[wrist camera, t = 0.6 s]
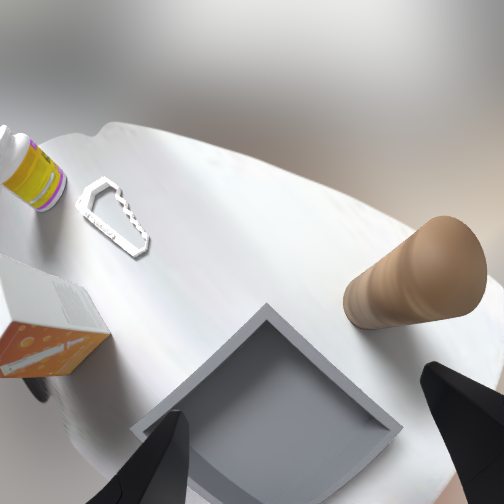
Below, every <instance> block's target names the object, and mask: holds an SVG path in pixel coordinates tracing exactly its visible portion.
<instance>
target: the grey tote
mask: <svg viewBox="0 0 504 504" xmlns="http://www.w3.org/2000/svg"><path fill="white" fill-rule="evenodd" d="M170 410H181V411H182V412H183V413H184V415H185V417H186V419H187V421H188V423H189V471H188V480H187V485H188V486H189V487H190V488H191V489H193V490H194V491H195V492H196V493H198V494H199V495H200V496H202V497H203V498H204V499H206V500H207V501H208V502H210V503H211V504H320V503H321V502H322V501H324V500H325V499H327V498H328V497H329V496H331V495H332V494H333V493H335V492H336V491H337V490H338V489H340V488H341V487H342V486H343V485H345V484H346V483H347V482H348V481H349V480H351V479H352V478H353V477H354V476H355V475H357V474H358V473H359V472H360V471H361V470H362V469H363V468H364V467H365V466H367V465H368V464H369V463H370V462H371V461H372V460H373V459H374V458H375V457H376V456H377V455H378V454H379V453H380V452H381V451H382V450H383V449H384V448H385V447H386V446H387V445H388V444H389V443H390V442H391V441H392V440H393V439H394V438H395V437H396V435H397V434H398V433H399V432H400V431H401V430H402V429H403V428H404V427H403V426H401V425H400V424H399V423H398V422H397V421H396V420H394V419H393V418H392V417H391V416H390V415H389V414H388V413H386V412H385V411H384V410H383V409H382V408H381V407H380V406H378V405H377V404H376V403H375V402H374V401H373V400H372V399H370V398H369V397H368V396H367V395H366V394H365V393H364V392H363V391H361V390H360V389H359V388H358V387H357V386H356V385H355V384H354V383H352V382H351V381H350V380H349V379H348V378H347V377H346V376H345V375H344V374H343V373H341V372H340V371H339V370H338V369H337V368H336V367H335V366H334V365H333V364H332V363H330V362H329V361H328V360H327V359H326V358H325V357H324V356H323V355H322V354H321V353H320V352H318V351H317V350H316V349H315V348H314V347H313V346H312V345H311V344H310V343H309V342H308V341H307V340H306V339H304V338H303V337H302V336H301V335H300V334H299V333H298V332H297V331H296V330H295V329H294V328H293V327H292V326H291V325H290V324H289V323H287V322H286V321H285V320H284V319H283V318H282V317H281V316H280V315H279V314H278V313H277V312H276V311H275V310H274V309H273V308H272V307H271V306H270V305H269V304H268V303H266V304H265V305H264V306H263V307H262V308H261V309H260V310H259V311H258V312H257V313H256V314H255V315H254V316H253V317H252V318H251V319H250V320H249V321H248V322H247V323H246V324H244V325H243V326H242V327H241V328H240V329H239V330H238V331H237V332H236V333H235V334H234V335H233V336H232V337H231V338H230V339H229V340H228V341H227V342H226V343H225V344H224V345H223V346H222V347H221V348H220V349H219V350H218V351H216V352H215V353H214V354H213V355H212V356H211V357H210V358H209V359H208V360H207V361H206V362H205V363H204V364H203V365H202V366H200V367H199V368H198V369H197V370H196V371H195V372H194V373H193V374H192V375H191V376H190V377H189V378H187V379H186V380H185V381H184V382H183V383H182V384H181V385H180V386H179V387H177V388H176V389H175V390H174V391H173V392H172V393H171V394H170V395H168V396H167V397H166V398H165V399H164V400H163V401H162V402H161V403H159V404H158V405H157V406H156V407H155V408H154V409H152V410H151V411H150V412H149V413H148V414H147V415H145V416H144V417H143V418H142V419H141V420H140V421H138V422H137V423H136V424H135V425H134V426H132V427H131V428H130V430H131V431H132V432H133V433H134V435H135V436H136V437H137V438H138V439H139V440H140V441H141V442H142V443H143V442H144V441H145V440H146V439H147V437H148V436H149V435H150V434H151V433H152V431H153V430H154V429H155V428H156V427H157V425H158V424H159V423H160V422H161V420H162V419H163V418H164V417H165V416H166V414H167V413H168V412H169V411H170Z"/></svg>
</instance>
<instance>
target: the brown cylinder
mask: <svg viewBox="0 0 504 504" xmlns="http://www.w3.org/2000/svg"><path fill="white" fill-rule="evenodd" d="M486 283H487V265H486V259H485V256H484V252H483V250H482V247H481V245H480V243H479V241H478V239H477V237H476V236H475V234H474V233H473V232H472V231H471V229H470V228H469V227H468V226H467V225H465V224H464V223H463V222H461V221H459V220H458V219H456V218H453V217H450V216H439V217H435V218H433V219H431V220H430V221H428V222H427V223H426V224H425V225H423V227H421V228H420V229H419V230H417V231H416V232H415V233H414V234H413V235H411V236H410V237H409V238H408V239H406V240H405V241H404V242H403V243H401V244H400V245H399V246H398V247H396V248H395V249H394V250H393V251H391V252H390V253H389V254H387V255H386V256H385V257H383V258H382V259H381V260H379V261H378V262H377V263H376V264H374V265H373V266H371V267H370V268H369V269H367V270H366V271H365V272H363V273H362V274H361V275H359V276H358V277H356V278H355V279H354V280H353V281H351V283H350V284H349V285H348V286H347V288H346V290H345V293H344V297H343V306H344V311H345V314H346V316H347V317H348V319H349V320H350V321H351V322H352V323H353V324H354V325H355V326H357V327H359V328H362V329H379V328H388V327H396V326H404V325H411V324H418V323H425V322H431V321H438V320H444V319H449V318H455V317H460V316H464V315H466V314H468V313H470V312H471V311H473V310H474V309H475V308H476V307H477V306H478V304H479V303H480V301H481V299H482V297H483V295H484V292H485V288H486Z"/></svg>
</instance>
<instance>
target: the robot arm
mask: <svg viewBox="0 0 504 504" xmlns="http://www.w3.org/2000/svg"><path fill="white" fill-rule="evenodd" d="M420 384H421V386H422V389H423V392H424V395H425V397H426V400H427V403H428V406H429V409H430V411H431V414H432V416H433V418H434V420H435V423H436V425H437V427H438V429H439V431H440V433H441V436H442V438H443V440H444V442H445V445H446V447H447V449H448V452H449V454H450V456H451V459H452V461H453V464H454V466H455V469H456V471H457V474H458V476H459V479H460V482H461V484H462V486H463V490H464V493H465V496H466V499H467V502H468V504H504V395H503V394H500V393H498V392H496V391H494V390H492V389H490V388H488V387H486V386H484V385H482V384H480V383H478V382H476V381H474V380H472V379H470V378H468V377H466V376H464V375H462V374H460V373H458V372H456V371H454V370H452V369H450V368H448V367H446V366H444V365H442V364H440V363H438V362H436V361H432V362H430V363H427V364H426V365H425V366H424V369H423V372H422V375H421V378H420ZM188 471H189V423H188V421H187V419H186V417H185V415H184V413H183V412H182V411H181V410H170V411H169V412H168V413H167V414H166V416H165V417H164V418H163V419H162V420H161V422H160V423H159V424H158V425H157V427H156V428H155V429H154V430H153V431H152V433H151V434H150V435H149V436H148V437H147V439H146V440H145V441H144V442H143V443H142V445H141V446H140V447H139V448H138V449H137V450H136V452H135V453H134V454H133V455H132V456H131V458H130V459H129V460H128V461H127V462H126V463H125V464H124V466H123V467H122V468H121V469H120V470H119V471H118V473H117V475H115V476H114V477H113V478H112V479H111V480H110V481H109V483H108V484H107V485H106V486H105V487H104V488H103V489H102V490H101V491H100V492H99V493H97V495H95V496H94V497H93V498H92V499H91V500H89V501H88V502H87V503H86V504H185V498H186V489H187V480H188Z"/></svg>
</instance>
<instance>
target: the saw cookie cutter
mask: <svg viewBox="0 0 504 504" xmlns="http://www.w3.org/2000/svg"><path fill="white" fill-rule="evenodd" d="M109 186H111V187H112V188H114V189H115V190H117V192H116V196H115V198H116V199H117V200H118V201H119V202H121V203H122V204H123V205H124V208H123V211H124V212H125V213H126V214H128V215H129V216H130V221H131V222H132V223H133V224H135V225H136V228H137V229H138V230H139V231H141V232H142V235H141V236H142V237H143V238H145V239H146V245H145V247H143V248H141V249H140V250H139V249H137V248H136V247H135V246H133V245H132V244H131V243H130V242H128V241H127V240H126V239H124V238H123V237H122V236H121V235H119V234H118V233H117V232H116V231H114V230H113V229H112V228H111V227H109V226H108V225H107V224H106V223H104V222H103V221H102V220H101V219H100V218H98V217H97V216H96V215H95V214H93V213H92V212H91V210H92V206H93V202H94V199H95V196H96V194H98V193H99V192H101V191H103V190H104V189H106V188H107V187H109ZM121 191H122V190H121V188H120V187H119V186H117V185H116V184H114V183H113V182H111V181H110V180H109V179H107V178H106V177H102V178H100V179H99V180H97V181H96V182H94V183H92V184H91V185H89V186H88V187H86V188H85V189H84V192H83V195H81V196H80V197H79V198H78V200H77V202H76V208H77V209H78V211H79V212H80V213H82V214H83V215H84V216H85V217H86V218H87V219H88V220H90V221H91V222H92V223H93V224H94V225H95V226H97V227H98V228H99V229H100V230H101V231H102V232H104V233H105V234H106V235H107V236H108V237H110V238H111V239H112V240H113V241H115V242H116V243H117V244H118V245H119V246H121V247H122V248H123V249H124V250H126V251H127V252H128V253H129V254H131V255H132V256H133V257H136V256H138V255H140V254H142V253H144V252H145V251H147V249H148V243H149V237H150V236H149V235H148V234H147V233H145V232H144V231H145V230H144V229H143V228H142V227H141V226H140V223H138V222H137V221H136V220H134V217H135V215H134V214H133V213H132V212H130V211H129V210H128V205H129V204H128V202H127V201H125V200H124V199H123V198H121V197H120V194H121ZM80 201H81V203H80ZM79 204H80V205H79Z"/></svg>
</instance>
